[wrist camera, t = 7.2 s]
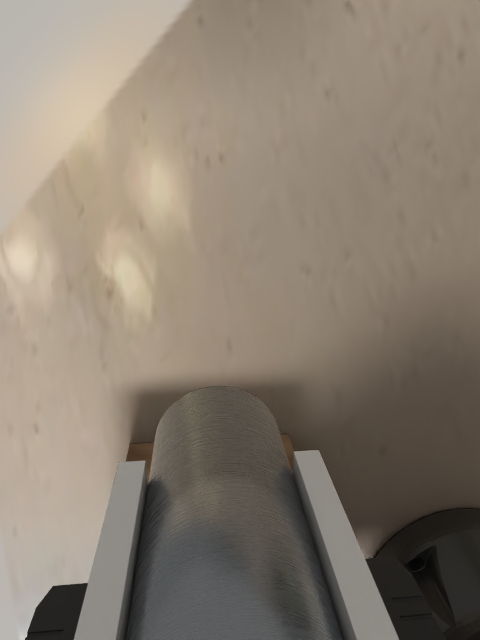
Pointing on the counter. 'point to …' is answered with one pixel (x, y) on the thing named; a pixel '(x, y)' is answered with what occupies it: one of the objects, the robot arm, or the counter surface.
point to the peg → (225, 531)
